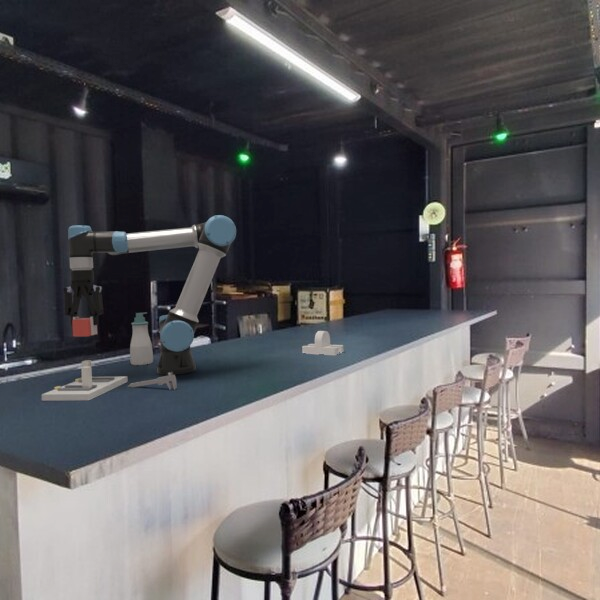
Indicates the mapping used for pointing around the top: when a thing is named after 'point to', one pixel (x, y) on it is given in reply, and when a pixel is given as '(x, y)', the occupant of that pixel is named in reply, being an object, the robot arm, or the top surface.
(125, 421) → the top surface
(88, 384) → the post
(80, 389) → the panel
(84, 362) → the block
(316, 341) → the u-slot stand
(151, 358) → the soap bottle
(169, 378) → the caliper
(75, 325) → the brick-red cube
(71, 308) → the robot arm
